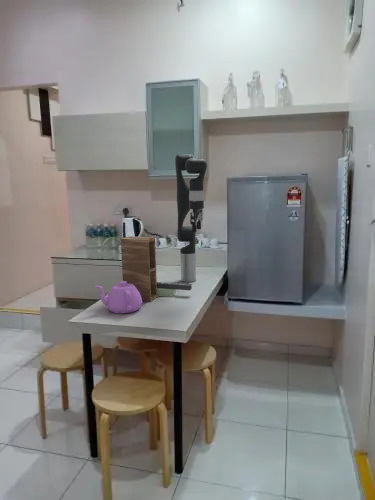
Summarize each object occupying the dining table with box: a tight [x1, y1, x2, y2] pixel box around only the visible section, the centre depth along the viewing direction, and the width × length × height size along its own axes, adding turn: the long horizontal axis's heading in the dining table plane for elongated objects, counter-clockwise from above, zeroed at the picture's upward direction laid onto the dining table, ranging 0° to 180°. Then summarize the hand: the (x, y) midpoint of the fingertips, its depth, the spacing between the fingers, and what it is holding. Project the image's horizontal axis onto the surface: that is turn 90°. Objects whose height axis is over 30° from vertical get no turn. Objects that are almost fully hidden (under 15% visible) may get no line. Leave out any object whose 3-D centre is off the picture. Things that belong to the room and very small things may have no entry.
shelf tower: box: [120, 235, 158, 303], centre depth 201 cm, size 9×15×32 cm, turn 71°
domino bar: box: [157, 281, 193, 291], centre depth 209 cm, size 3×24×3 cm, turn 72°
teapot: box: [94, 280, 143, 314], centre depth 185 cm, size 22×22×14 cm
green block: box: [157, 288, 177, 298], centre depth 211 cm, size 7×16×4 cm, turn 71°
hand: (196, 230), depth 202 cm, fingers open, 8 cm apart
